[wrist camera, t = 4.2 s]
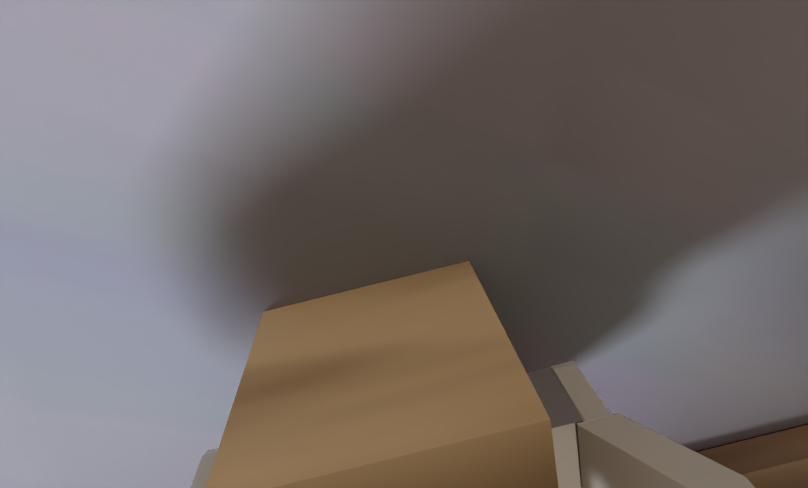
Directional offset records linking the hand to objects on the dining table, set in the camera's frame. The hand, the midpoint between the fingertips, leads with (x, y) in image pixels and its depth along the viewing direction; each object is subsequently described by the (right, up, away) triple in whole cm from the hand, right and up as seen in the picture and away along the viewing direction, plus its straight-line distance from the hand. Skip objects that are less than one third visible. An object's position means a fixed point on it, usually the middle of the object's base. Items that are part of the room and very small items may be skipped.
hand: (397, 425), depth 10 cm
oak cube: (0, +1, +2) cm, 2 cm away
